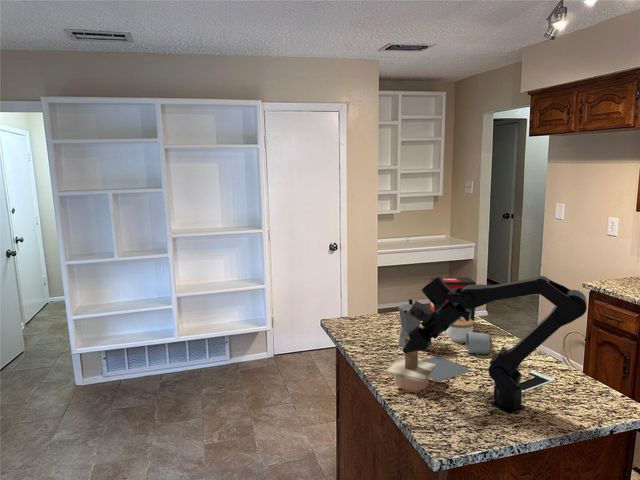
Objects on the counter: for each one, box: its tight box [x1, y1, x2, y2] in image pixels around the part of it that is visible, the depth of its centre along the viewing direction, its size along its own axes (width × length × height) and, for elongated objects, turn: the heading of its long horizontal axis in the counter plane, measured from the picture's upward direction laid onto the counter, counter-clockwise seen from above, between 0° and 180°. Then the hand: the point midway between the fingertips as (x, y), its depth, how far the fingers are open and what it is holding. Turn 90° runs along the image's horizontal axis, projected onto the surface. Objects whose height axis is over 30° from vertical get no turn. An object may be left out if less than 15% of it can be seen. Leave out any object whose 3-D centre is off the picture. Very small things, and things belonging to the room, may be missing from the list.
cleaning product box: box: [429, 276, 476, 330], centre depth 191 cm, size 16×9×20 cm, turn 88°
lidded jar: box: [445, 317, 475, 344], centre depth 175 cm, size 11×11×9 cm
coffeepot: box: [398, 298, 422, 348], centre depth 170 cm, size 15×9×18 cm, turn 150°
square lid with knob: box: [385, 336, 436, 383], centre depth 137 cm, size 12×12×10 cm
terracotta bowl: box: [393, 376, 429, 392], centre depth 138 cm, size 10×10×4 cm
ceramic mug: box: [465, 331, 493, 355], centre depth 163 cm, size 11×8×8 cm
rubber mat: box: [420, 355, 472, 382], centre depth 149 cm, size 15×15×1 cm
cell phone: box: [519, 370, 556, 394], centre depth 139 cm, size 8×16×1 cm, turn 119°
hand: (408, 346), depth 137 cm, fingers open, 9 cm apart
